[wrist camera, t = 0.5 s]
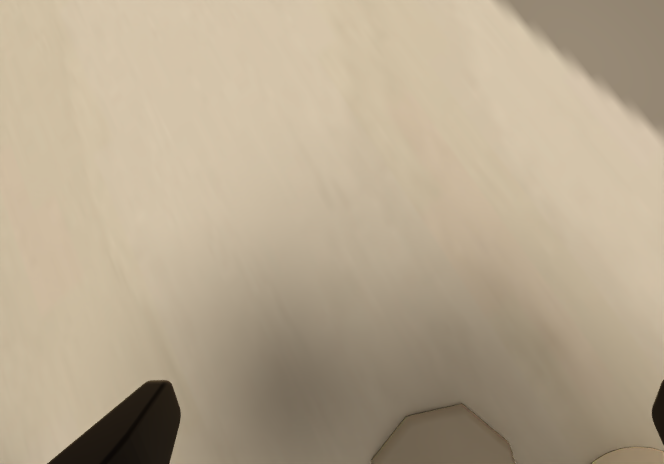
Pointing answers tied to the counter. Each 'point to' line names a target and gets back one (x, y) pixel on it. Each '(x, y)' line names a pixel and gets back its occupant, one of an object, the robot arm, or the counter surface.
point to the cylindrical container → (632, 456)
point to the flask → (444, 440)
